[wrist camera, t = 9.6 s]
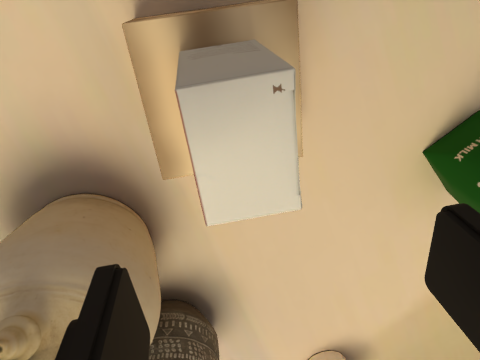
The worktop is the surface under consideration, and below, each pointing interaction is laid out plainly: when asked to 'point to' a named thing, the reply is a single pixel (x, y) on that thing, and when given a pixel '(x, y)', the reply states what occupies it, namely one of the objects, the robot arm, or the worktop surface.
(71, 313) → the jug
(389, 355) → the worktop surface
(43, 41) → the worktop surface
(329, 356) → the white cup
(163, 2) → the worktop surface
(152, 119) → the beech block
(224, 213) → the small box
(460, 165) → the milk carton
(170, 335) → the planter
